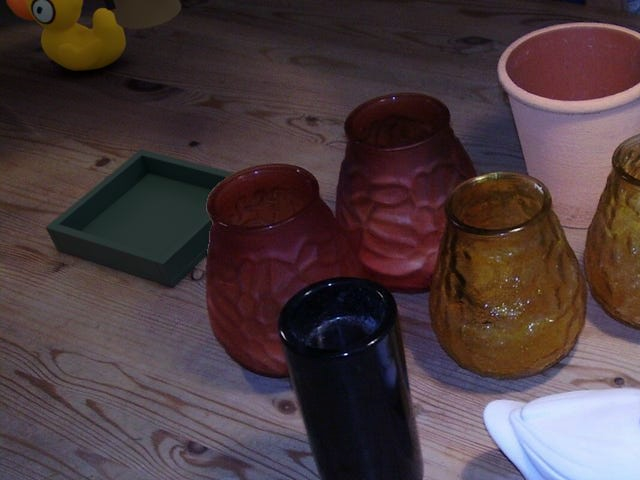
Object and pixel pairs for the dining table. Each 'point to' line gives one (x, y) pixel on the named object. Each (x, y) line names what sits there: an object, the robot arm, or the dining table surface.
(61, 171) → the dining table surface
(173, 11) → the brown piece
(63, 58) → the duckling
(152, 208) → the tray
